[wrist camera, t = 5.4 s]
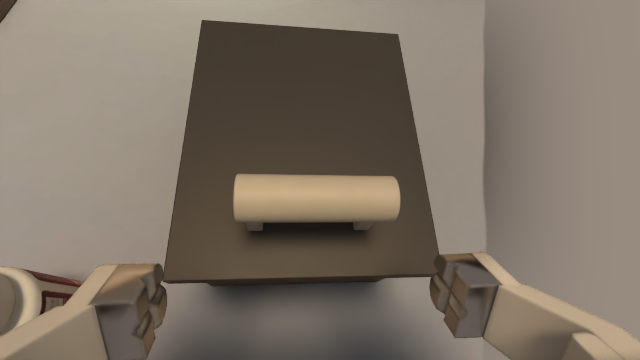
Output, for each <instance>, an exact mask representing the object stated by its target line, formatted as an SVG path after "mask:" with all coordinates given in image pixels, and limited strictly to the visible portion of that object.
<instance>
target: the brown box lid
mask: <svg viewBox="0 0 640 360" xmlns="http://www.w3.org/2000/svg"><path fill="white" fill-rule="evenodd" d="M437 255H439V251H438V245H437V240H436V235H435V229H434V224H433V219H432V213H431V208H430V202H429V197H428V192H427V186H426V181H425V176H424V170H423V165H422V160H421V154H420V149H419V144H418V138H417V133H416V128H415V122H414V117H413V111H412V106H411V101H410V95H409V90H408V85H407V79H406V74H405V69H404V63H403V58H402V53H401V47H400V42H399V37H398V34H388V33H374V32H360V31H346V30H333V29H319V28H305V27H291V26H277V25H263V24H250V23H236V22H222V21H208V20H202V23H201V30H200V36H199V43H198V49H197V56H196V63H195V69H194V76H193V82H192V89H191V95H190V102H189V109H188V115H187V122H186V128H185V135H184V142H183V148H182V155H181V161H180V168H179V174H178V181H177V188H176V194H175V201H174V207H173V214H172V221H171V227H170V234H169V240H168V247H167V253H166V260H165V267H164V273H163V274H164V277H163V280H162V281H163V282H166V283H168V284H174V283H213V282H251V281H289V280H327V279H365V278H403V277H432V276H433V275H434V274H435V273H436V272H437V271H436V270H435V268H434V266H433V265H434V261H435V258H436V257H437Z"/></svg>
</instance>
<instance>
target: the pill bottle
mask: <svg viewBox="0 0 640 360" xmlns="http://www.w3.org/2000/svg"><path fill="white" fill-rule="evenodd" d="M82 284H83V283H81V282H79V281H76V280H72V279H67V278H62V277H57V276H52V275H48V274H43V273H38V272H33V271H29V270H24V269H19V268H14V267H0V336H2V335H4V334H6V333H8V332H9V331H11V330H13V329H15V328H17V327H19V326H21V325H23V324H25V323H26V322H28V321H30V320H32V319H34V318H36V317H38V316H40V315H42V314H43V313H45V312H47V311H49V310H51V309H53V308H55V307H58V306H64V305H65V304H66V302H67V301H68V300H69V299H70V298H71V297H72V295H73V294H74V293H75V292H76V291H77V290H78V288H79V287H80V286H81V285H82Z"/></svg>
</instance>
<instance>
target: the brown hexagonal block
mask: <svg viewBox="0 0 640 360" xmlns="http://www.w3.org/2000/svg"><path fill="white" fill-rule="evenodd" d="M15 1H16V0H0V21H1V20H2V19H3V17H4V16H5V14H6V13H7V12H8V10H9V9H10V8H11V6H12V5H13V3H14V2H15Z"/></svg>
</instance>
